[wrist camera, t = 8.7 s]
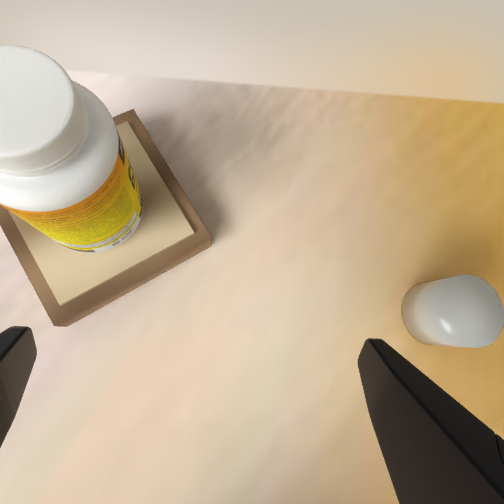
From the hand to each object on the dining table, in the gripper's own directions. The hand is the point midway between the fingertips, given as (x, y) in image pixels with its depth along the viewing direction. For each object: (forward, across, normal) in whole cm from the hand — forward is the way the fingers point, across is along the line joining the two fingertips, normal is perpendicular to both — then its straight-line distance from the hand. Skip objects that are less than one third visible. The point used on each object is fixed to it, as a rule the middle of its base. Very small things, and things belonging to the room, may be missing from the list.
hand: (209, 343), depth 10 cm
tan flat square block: (+14, +7, +4) cm, 16 cm away
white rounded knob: (+11, -16, +8) cm, 21 cm away
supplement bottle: (+13, +7, +3) cm, 15 cm away
